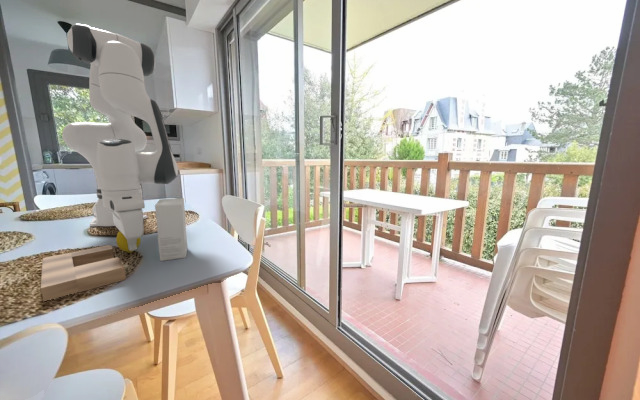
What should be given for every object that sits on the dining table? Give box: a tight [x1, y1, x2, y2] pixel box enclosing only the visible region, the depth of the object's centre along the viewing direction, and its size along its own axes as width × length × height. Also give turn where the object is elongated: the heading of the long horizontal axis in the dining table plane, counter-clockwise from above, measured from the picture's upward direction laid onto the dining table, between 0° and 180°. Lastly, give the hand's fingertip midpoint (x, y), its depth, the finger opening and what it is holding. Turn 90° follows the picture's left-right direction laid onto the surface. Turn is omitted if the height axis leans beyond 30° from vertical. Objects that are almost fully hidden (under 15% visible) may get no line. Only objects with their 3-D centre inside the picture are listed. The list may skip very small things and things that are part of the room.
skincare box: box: [154, 197, 188, 262], centre depth 72 cm, size 8×7×16 cm
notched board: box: [40, 244, 127, 302], centre depth 61 cm, size 20×13×3 cm, turn 46°
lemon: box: [115, 230, 142, 254], centre depth 74 cm, size 6×6×8 cm
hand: (129, 246), depth 74 cm, fingers closed on lemon, 5 cm apart
